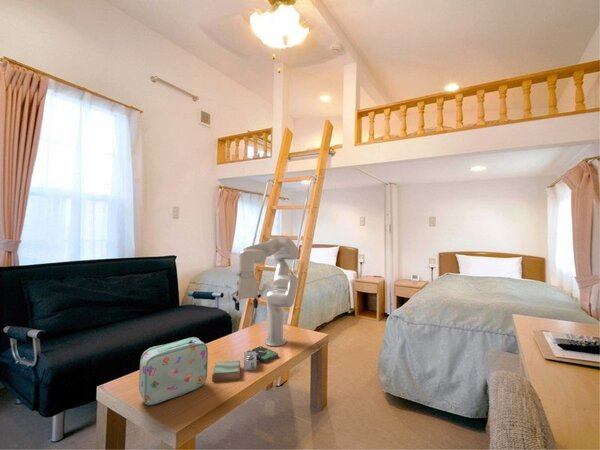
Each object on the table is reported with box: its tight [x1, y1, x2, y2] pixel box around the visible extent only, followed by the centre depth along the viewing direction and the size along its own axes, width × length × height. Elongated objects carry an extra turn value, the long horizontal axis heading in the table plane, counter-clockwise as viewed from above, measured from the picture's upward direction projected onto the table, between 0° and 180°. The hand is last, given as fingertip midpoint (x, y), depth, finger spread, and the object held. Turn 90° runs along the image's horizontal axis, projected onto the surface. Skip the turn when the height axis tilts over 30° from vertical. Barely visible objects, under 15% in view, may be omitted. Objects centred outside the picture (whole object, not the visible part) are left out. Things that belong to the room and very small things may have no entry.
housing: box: [243, 351, 258, 372], centre depth 144 cm, size 11×6×6 cm, turn 11°
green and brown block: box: [211, 360, 241, 382], centre depth 136 cm, size 12×12×3 cm
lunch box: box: [138, 336, 209, 406], centre depth 121 cm, size 27×10×21 cm, turn 133°
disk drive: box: [246, 345, 279, 364], centre depth 155 cm, size 10×3×15 cm
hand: (246, 308), depth 144 cm, fingers open, 9 cm apart
